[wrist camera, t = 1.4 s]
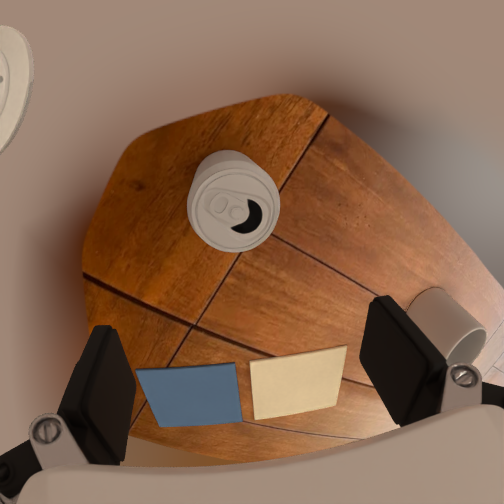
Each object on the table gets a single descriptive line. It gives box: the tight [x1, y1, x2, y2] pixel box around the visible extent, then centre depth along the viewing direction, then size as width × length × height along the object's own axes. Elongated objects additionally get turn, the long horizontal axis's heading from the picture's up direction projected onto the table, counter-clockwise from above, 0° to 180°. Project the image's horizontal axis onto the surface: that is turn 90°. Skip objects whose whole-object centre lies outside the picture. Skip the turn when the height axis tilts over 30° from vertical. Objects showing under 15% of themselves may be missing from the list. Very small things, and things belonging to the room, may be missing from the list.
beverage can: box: [187, 150, 280, 252], centre depth 25 cm, size 6×6×12 cm
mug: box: [406, 288, 487, 366], centre depth 37 cm, size 12×8×11 cm
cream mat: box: [250, 345, 347, 420], centre depth 44 cm, size 14×14×1 cm
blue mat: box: [135, 362, 242, 427], centre depth 42 cm, size 14×14×1 cm
